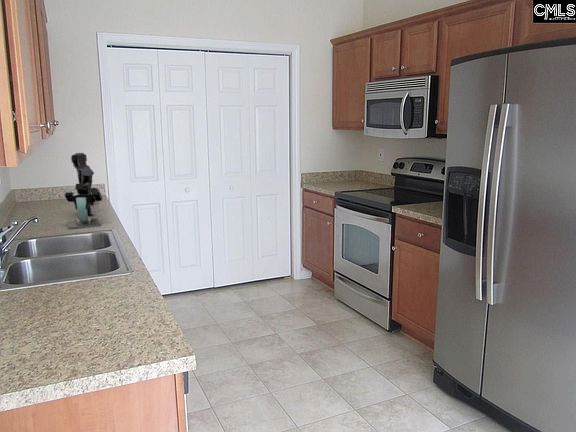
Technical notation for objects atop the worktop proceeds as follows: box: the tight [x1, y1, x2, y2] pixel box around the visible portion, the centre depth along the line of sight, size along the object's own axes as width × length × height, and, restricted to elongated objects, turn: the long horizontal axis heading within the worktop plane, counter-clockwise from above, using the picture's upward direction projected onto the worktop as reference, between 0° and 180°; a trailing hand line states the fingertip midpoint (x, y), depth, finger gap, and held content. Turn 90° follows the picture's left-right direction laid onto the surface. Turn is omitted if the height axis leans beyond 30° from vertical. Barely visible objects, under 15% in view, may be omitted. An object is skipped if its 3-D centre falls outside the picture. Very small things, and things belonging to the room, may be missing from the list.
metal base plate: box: [66, 216, 102, 230], centre depth 261 cm, size 16×16×4 cm
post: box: [76, 197, 88, 222], centre depth 260 cm, size 5×5×13 cm
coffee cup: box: [91, 187, 100, 213], centre depth 302 cm, size 9×9×15 cm
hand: (81, 209), depth 259 cm, fingers closed on post, 5 cm apart
